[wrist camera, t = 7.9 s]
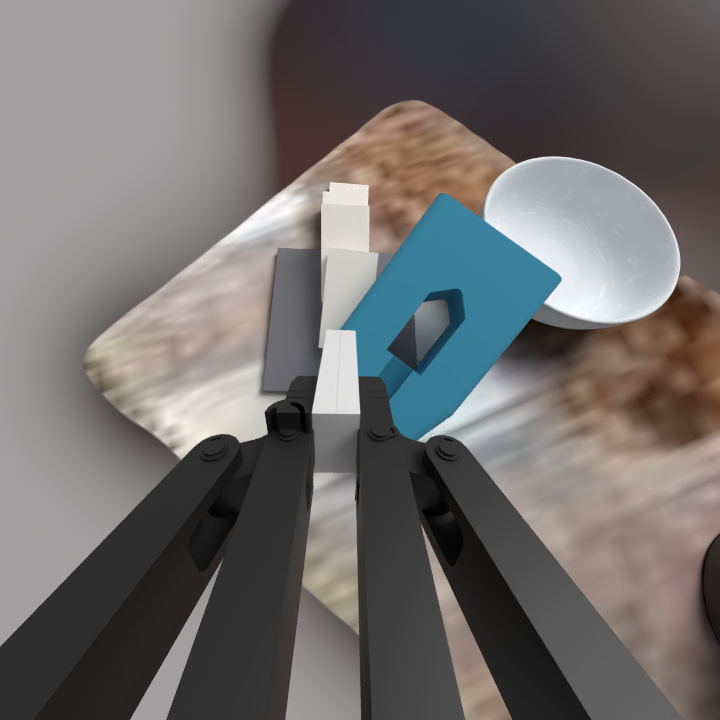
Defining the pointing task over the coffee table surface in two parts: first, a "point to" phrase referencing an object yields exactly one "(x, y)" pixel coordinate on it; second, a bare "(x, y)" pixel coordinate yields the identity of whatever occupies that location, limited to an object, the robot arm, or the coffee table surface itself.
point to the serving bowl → (587, 240)
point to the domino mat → (309, 320)
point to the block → (466, 310)
